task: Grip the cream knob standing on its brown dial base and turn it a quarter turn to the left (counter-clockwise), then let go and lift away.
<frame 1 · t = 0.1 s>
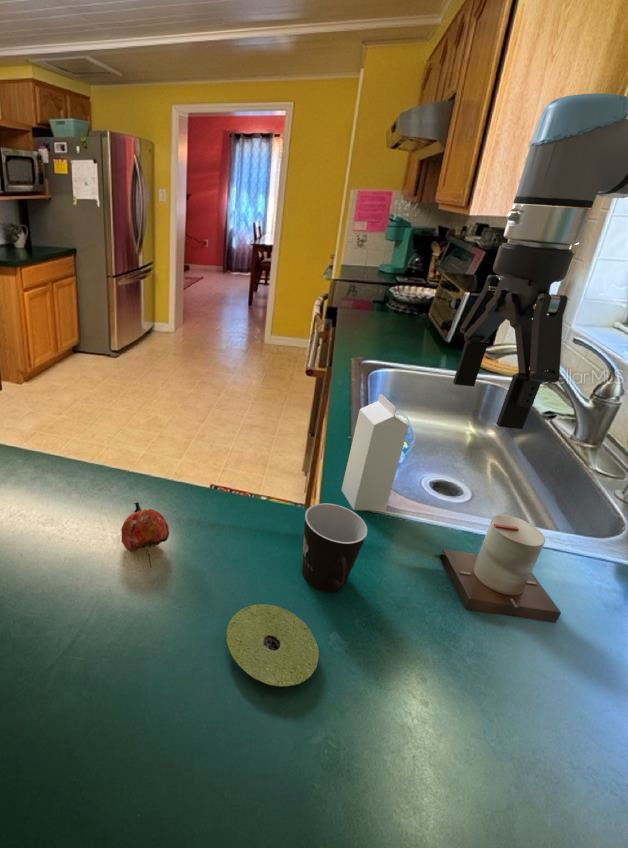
hand: (483, 403, 65), 28 cm above the kitchen counter, tool pointing down, fingers open, 13 cm apart
milk: (360, 508, 87), on the kitchen counter
pomegranate: (144, 551, 74), on the kitchen counter
brown dial base: (493, 588, 71), on the kitchen counter
coffee mug: (320, 583, 70), on the kitchen counter
cream knob: (507, 553, 68), point 7 cm above the kitchen counter, hinge at 0.0°
green disc with hole: (269, 653, 59), on the kitchen counter
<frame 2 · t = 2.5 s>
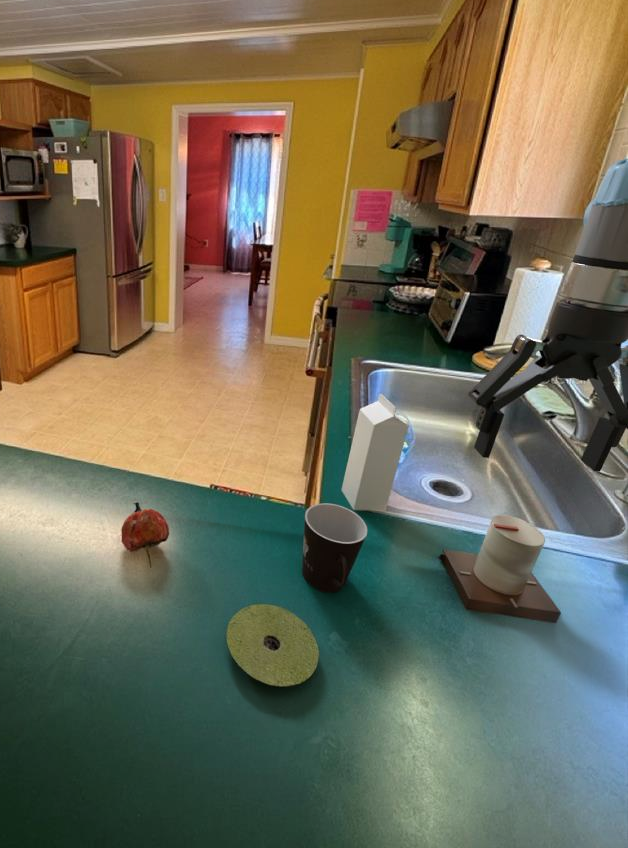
hand: (534, 459, 63), 22 cm above the kitchen counter, tool pointing down, fingers open, 13 cm apart
nothing on the kitchen counter moved.
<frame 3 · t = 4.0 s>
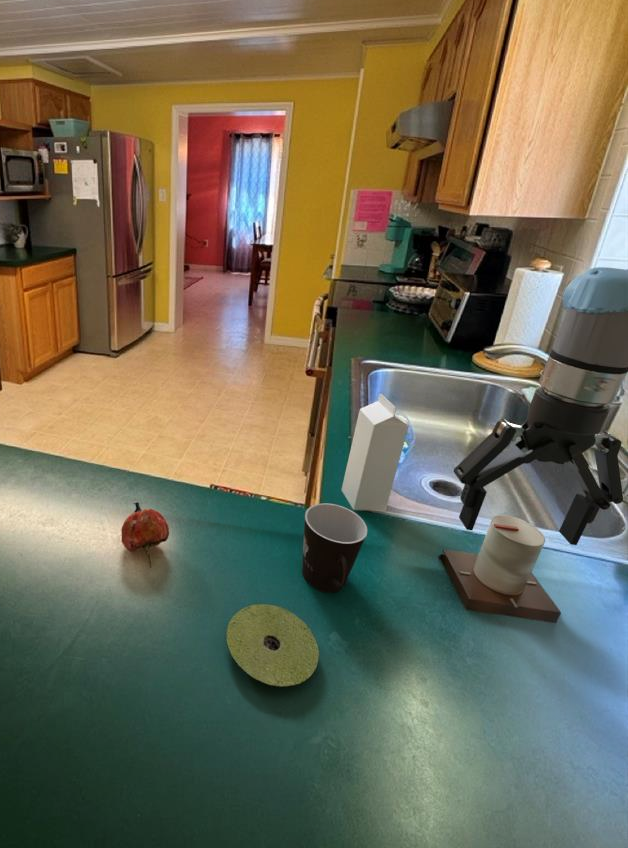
hand: (515, 531, 67), 11 cm above the kitchen counter, tool pointing down, fingers open, 13 cm apart
nothing on the kitchen counter moved.
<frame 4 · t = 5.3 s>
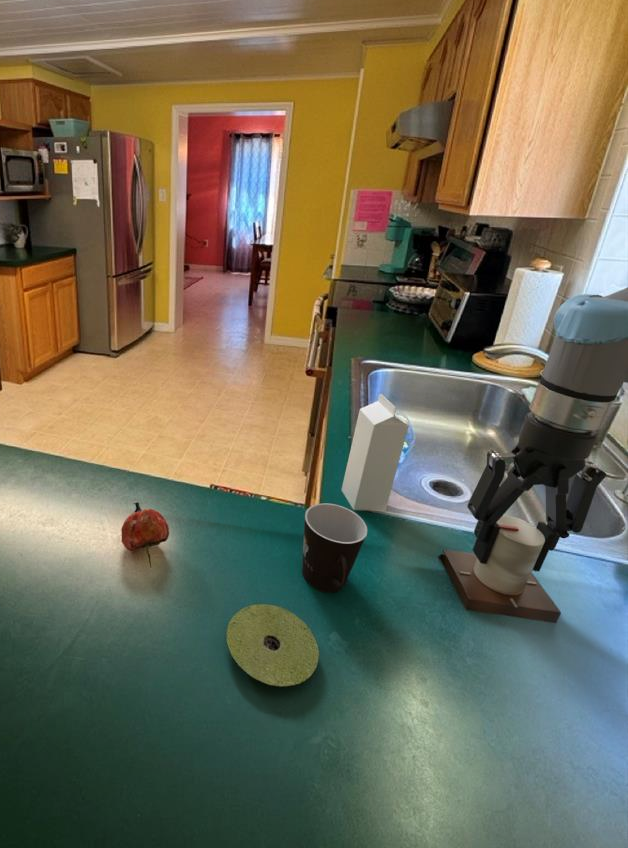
hand: (505, 560, 69), 5 cm above the kitchen counter, tool pointing down, fingers closed on cream knob, 6 cm apart
cream knob: (507, 553, 68), point 7 cm above the kitchen counter, hinge at 0.0°, touching gripper
everything else where it was.
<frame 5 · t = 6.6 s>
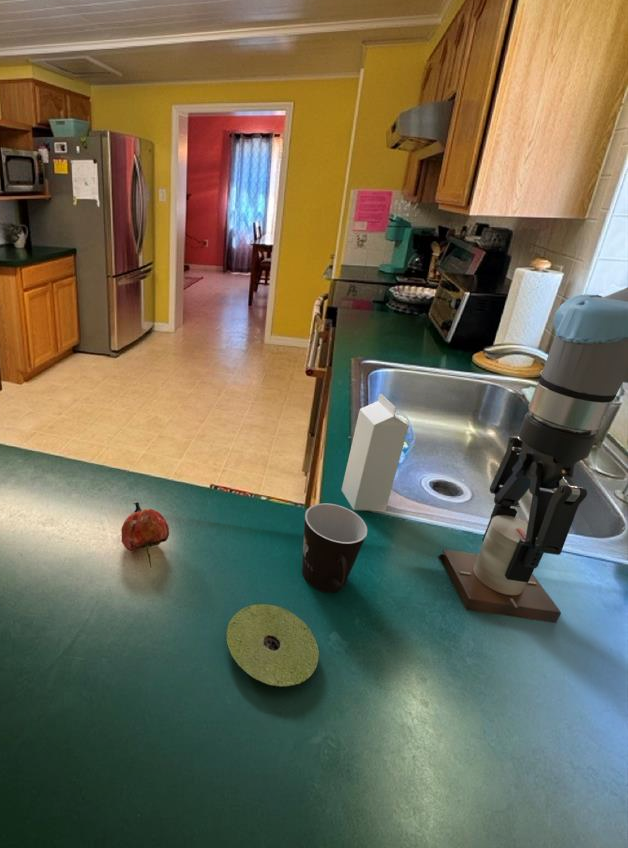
hand: (503, 560, 69), 5 cm above the kitchen counter, tool pointing down, fingers closed on cream knob, 6 cm apart
cream knob: (507, 553, 68), point 7 cm above the kitchen counter, hinge at 92.3°, touching gripper
everything else where it was.
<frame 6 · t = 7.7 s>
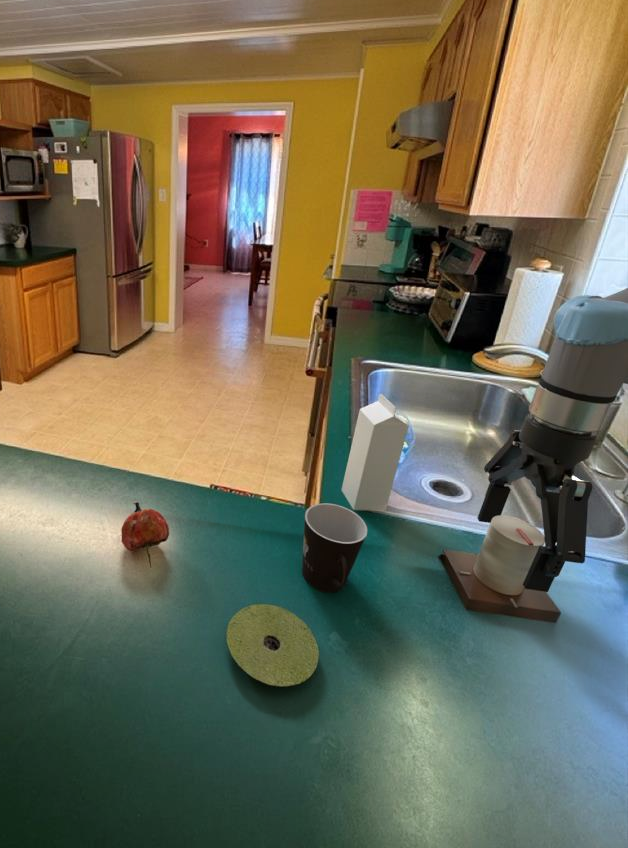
hand: (508, 551, 68), 7 cm above the kitchen counter, tool pointing down, fingers open, 13 cm apart
cream knob: (507, 553, 68), point 7 cm above the kitchen counter, hinge at 92.1°
everything else where it was.
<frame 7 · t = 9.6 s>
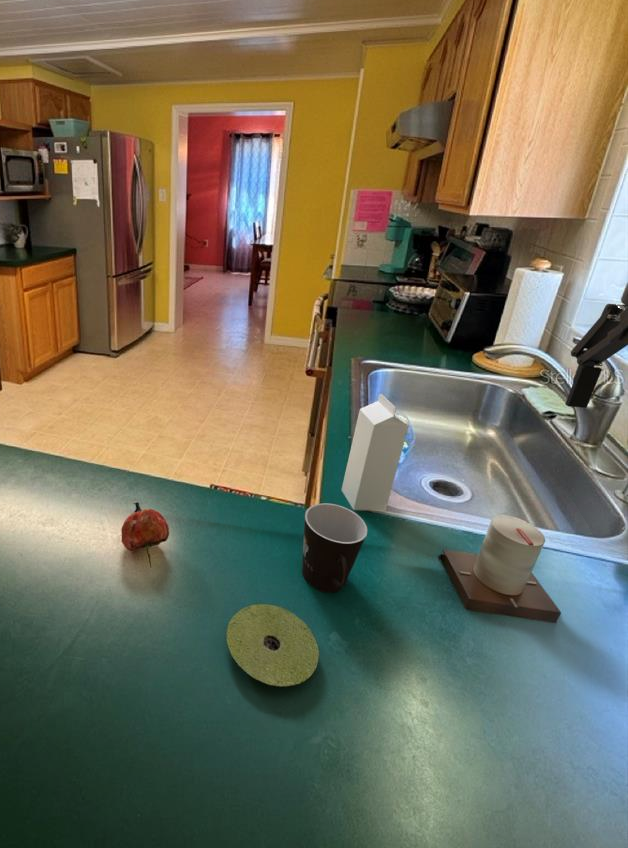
hand: (606, 426, 68), 25 cm above the kitchen counter, tool pointing down, fingers open, 13 cm apart
nothing on the kitchen counter moved.
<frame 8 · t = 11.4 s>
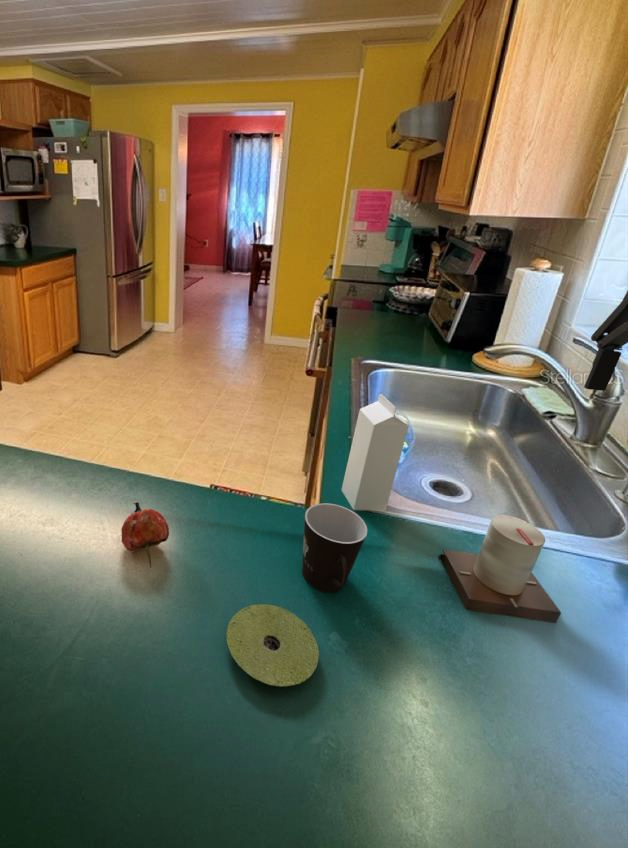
hand: (625, 407, 70), 27 cm above the kitchen counter, tool pointing down, fingers open, 13 cm apart
nothing on the kitchen counter moved.
at the end: cream knob at +92° (first picture: +0°); milk moved 0.2 cm from its start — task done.
